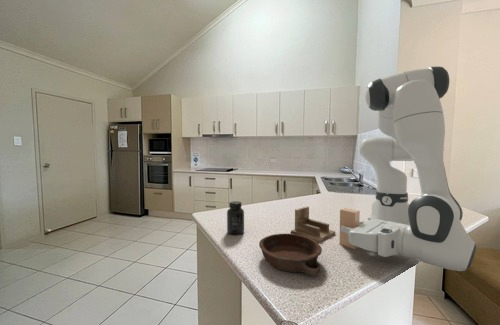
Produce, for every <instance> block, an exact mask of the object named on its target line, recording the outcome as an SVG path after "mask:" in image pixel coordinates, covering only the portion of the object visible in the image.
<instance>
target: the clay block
mask: <svg viewBox="0 0 500 325" xmlns="http://www.w3.org/2000/svg"><path fill="white" fill-rule="evenodd" d="M360 213H361V211H360V210H357V209H351V208H347V207H344V208H342V209H341V208H340V210H339V245H340V246H344V247H347V248H350V249H353V250H356V249H357V248H358V247H357V246H354V245H352V244H351V243H350V242H349V240H348V234H347V233H344V232H341V226H343V225H344V226H348V228H353V229H354V228H356V227H358V226H359V221H360V218H361V217H360Z"/></svg>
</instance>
